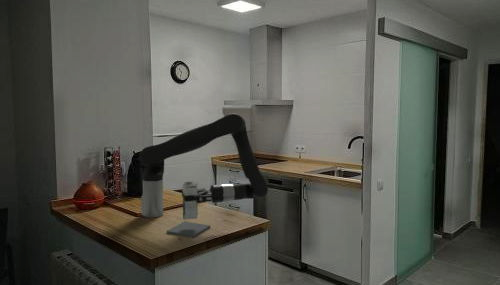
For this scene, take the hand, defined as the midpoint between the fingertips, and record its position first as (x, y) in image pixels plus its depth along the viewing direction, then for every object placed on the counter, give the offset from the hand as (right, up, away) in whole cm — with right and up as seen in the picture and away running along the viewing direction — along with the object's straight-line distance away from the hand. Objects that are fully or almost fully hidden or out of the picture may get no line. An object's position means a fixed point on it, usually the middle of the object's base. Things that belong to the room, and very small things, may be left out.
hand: (183, 196), depth 142 cm
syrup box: (+3, -9, +2) cm, 10 cm away
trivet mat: (+2, -15, +2) cm, 15 cm away
